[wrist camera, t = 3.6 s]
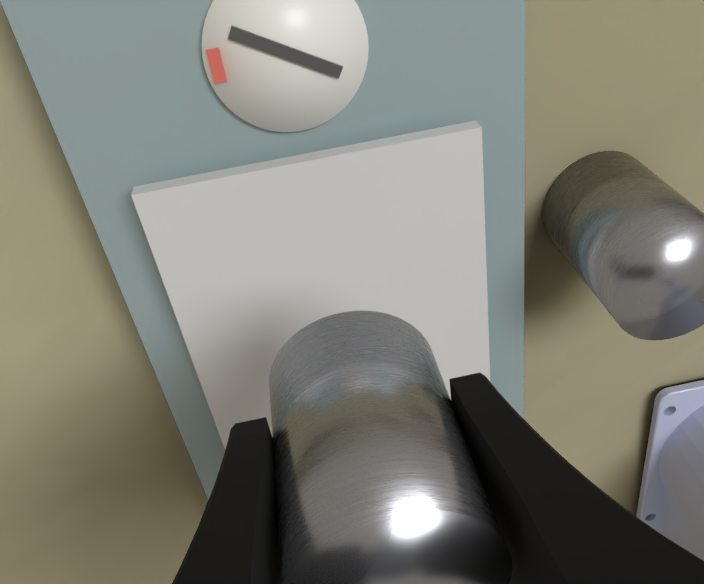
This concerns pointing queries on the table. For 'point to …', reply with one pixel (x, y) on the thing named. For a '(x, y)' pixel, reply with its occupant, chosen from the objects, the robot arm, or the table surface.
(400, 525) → the cylinder
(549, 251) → the table surface
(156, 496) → the table surface
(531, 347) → the table surface
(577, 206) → the cylinder
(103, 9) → the scale
